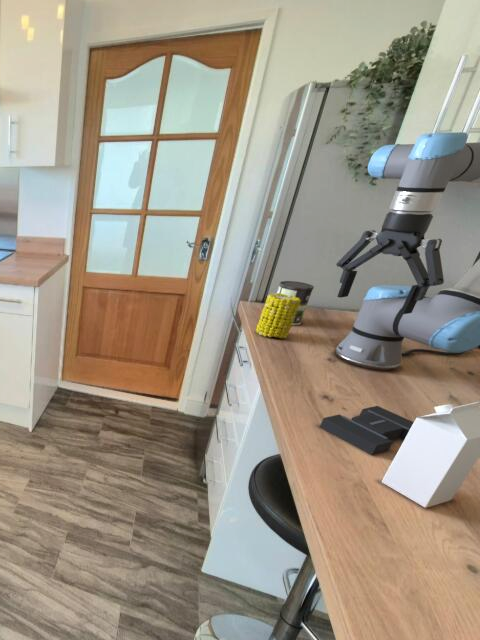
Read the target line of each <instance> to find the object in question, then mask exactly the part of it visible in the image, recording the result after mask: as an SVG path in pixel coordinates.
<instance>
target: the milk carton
mask: <svg viewBox="0 0 480 640" xmlns="http://www.w3.org/2000/svg"><path fill="white" fill-rule="evenodd" d="M479 406H480V401H475V402H470V403H467V404H463V405H457V406H453V404H451V403H450V404H442V405H437V406H434V411H435V412H433V413H430V414H425V415H421V416H417V417H416V418H415V419H414V421H413V422H414V423H413V425H412V427H411V429H410V430H409V432H408V434H407V436H406V438H405V440H403V441H402V444H401V445H400V447H399V449H398V450H397V453H396V454H395V456H394V458H393V460H392V462H391V464H390V465H389V467H388V469H387V471H386V472H385V475H384V476H383V478H382V480H381V483H382V484H384V485H385V486H387V487H389V488H391V489H392V490H394V491H395V492H398V493H399V494H401V495H402V496H404V497H406V498H407V499H409V500H411V501H413V502H414V503H416V504H417V505H419V506H421V507H422V508H425V509H426V508H430V507H434V506H437V505H441V504H443V503H446V502H450V501H452V500H453V499H454V497H455V495H456V494H457V492H458V491H459V489H460V487H462V485H463V483H464V481H465V480H466V478H467V477H468V476H469V474H470V472H471V470H472V469H473V468H474V466H475V465H476V464H477V462H478V460H479V458H480V408H479Z"/></svg>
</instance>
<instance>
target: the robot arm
mask: <svg viewBox="0 0 480 640" xmlns="http://www.w3.org/2000/svg"><path fill="white" fill-rule="evenodd" d="M468 138H469V135H468V133H467V132H463V131H462V132H461V131H458V132H432V133H431V132H430V133H429V132H428V133H422V134H421V135H420V136H419V137H418V138H417V139H416V141H415V143H407V144H403V143H402V144H401V143H396V144H386V145H383V146H381V147H379V148H378V149H376V151H374V153H373V154H372V155H371V157H370V160H369V161H368V164H367V172H368V174H369V176H371V177H372V178H378V179H383V180H384V179H385V180H386V179H387V180H390V179H391V180H400V181H399V183H398V186H397V188H396V190H395V193H394V195H393V198H392V200H391V202H390V205H389V210H390V211H388V213H386V215H385V217H384V219H383V223H382V225H381V230H380V232H377V231H376V230H374V229H372V230H371V229H370V230H365V231H364V232H363V233H362V234H361V236H360V239H359V240H358V241H357V242H356V243H355V244H354V245H353V246H352V247H351V248H350V249H349V250H348V251H347V252H346V253H345V254H344V255H343V256H342V257H341V258H340V259H339V260H338V261H337V262H336V267H339V268H341V269H342V273H341V276H340V279H339V284H341V286H340V288H339V291H338V293H337V298H346V297H348V296H349V294H350V292H351V289H352V286H353V284H354V282H355V279H356V276H357V273H358V270H356V268H359V267H360V266H362V265H363V264H365V263H366V262H368V261H370V260H372V259H373V258H375V257H376V256H378V255H379V254H382V255H392V256H393V257H402V259H403V260H404V261H405V262H406V264H407V266H408V268H409V269H410V272H411V275H412V276H413V278H414V281H415V282H416V284H413V285H410V286H409V285H398V284H397V285H396V284H395V285H394V284H393V285H392V284H390V285H389V284H388V285H387V284H385V285H384V284H382V285H381V284H380V285H375V286H372V287H370V288H369V289H368V291H367V293H366V295H365V297H364V298H363V300H362V304H361V306H360V309H359V310H358V314H357V316H356V319H355V321H354V323H353V326H352V329H351V330H350V332H349V333H348V334H347V336H346V337H344V339H343V340H342V341H341V342H340V343H338V345H337V346H336V348H335V349H334V353H333V355H334V356H335V357H336V358H337V359H338V360H340V361H342V362H344V363H346V364H348V365H351V366H355V367H358V368H362V369H366V370H373V371H379V372H393V371H397V370H399V369H400V366H401V365H402V360H403V359H402V358H403V357H405V356H409V355H410V354H412V353H419V352H420V353H429V354H435V355H441V356H442V355H444V356H459V355H460V356H461V355H463V354H465V353H467V352H469V351H472V350H474V349H475V348H478V349H480V258H479V259H478V260H477V261H475V263H474V264H473V265H472V266H471V267H470V268H469V269H468V271H467V272H466V273H465V274H464V275H463V276H462V277H461V278H460V279H459V280H458V282H457V283H456V284H455V285H454V286H452V287H447V288H444V289H440V291H439V292H438V293H437V294H436V295H435V296H434V297H429V296H426V295H427V292H428V291H429V288H430V287H437V286H441V285H443V284H444V282H445V280H444V272H443V265H442V260H441V252H440V249H441V246H442V243H443V240H442V239H441V238H432V239H430V238H429V239H427V238H425V235H426V233H427V231H428V230H429V228H430V225H431V222H432V220H433V218H434V215H433V214H432V213H434V212H436V211H437V209H438V207H439V205H440V202H441V199H442V198H443V195H444V192H445V190H446V188H447V186H448V184H449V183H465V184H472V185H473V186H475V187H477V188H480V141H479V142H467V141H468ZM375 240H376V243H377V244H376V245H374V246H373V247H371V248H370V249H368V251H366V252H365V253H363V254H361V252H363V250H364V249H365V248H367V246H368V245H370V244H371V242H373V241H375ZM421 246H422V247H423V249H424V256H425V263H426V267H425V265H424V263H423V261H422V258H421V254H420V252H419V249H418V248H420V247H421ZM360 254H361V255H360ZM357 256H358V257H357ZM404 339H407V340H409V341H410V340H411V341H414V342H416V343H419V344H422V345H426V346H428V347H431V348H432V349H427V348H426V349H425V348H414V349H413V348H412V349H409V350H407V351H406V352H403V351H402V350H403V341H404ZM433 349H435V350H433Z"/></svg>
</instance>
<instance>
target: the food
mask: <svg viewBox="0 0 480 640" xmlns="http://www.w3.org/2000/svg"><path fill="white" fill-rule="evenodd" d="M300 302H301V300H300V298H297V297H293V296H291V295H289V296H287V295H286V294H284V295H283V294H281V293H278V294H277V292H275V293H270V294H268V295H267V298H266V300H265V303H264V304H263V305H264V306H263V308H262V310H261V313H260V316H259V320H258V323H257V325H256V329H255V332H256V333H257V335H258V334H259V336H260V337H262V336H263V337H264V338H267V337H269V338H273V337H274V338H278V339H286V338H287V337H288V335H289V334H290V330H291V328H292V326H293V325H292V324H293V323H292V322H294V318H295V315H296V313H297V312H296V311H297V310H298V306H299V305H300Z"/></svg>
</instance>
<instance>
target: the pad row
mask: <svg viewBox="0 0 480 640" xmlns="http://www.w3.org/2000/svg"><path fill="white" fill-rule="evenodd" d="M370 413H373V414H375V415H377V416H380V417H382V418H384V419H386V420H388V421H390V422H392V423H395V424H397V425H399V426H401V427H403V428H404V429H403V431H402V433H401V434H400V436H399V438H398V439H401V440H403V441H404V440H405V438H406V436H407V434H408V432H409V430H410V429H411V427H412V425H413V423H414V421H412V420H410V419H408V418H405V417H403V416H401V415H399V414H397V413H394V412H392V411H390V410H388V409H386V408H384V407H381V406H378V405H375V406H370V407H365V408H362V409H361V412H360V413H359V415H358V416H361V415H365V414H370ZM351 419H352V418H349V417H347V416H345V415H342V414H334V415H330V416H327V417H323V418H322V421H321V423H320V425H319V428H321V429H322V430H325V431H326V432H328V433H330V434H332V435H333V436H336V437H337V438H339V439H341V440H342V441H343V440H344V441H345V442H347V443H349V444H350V445H352V446H354V447H356V448H358V449H360V450H361V451H364V452H366V454H369V455H370V456H374V455H377V454H381V453H385V452H389V450H390V448H391V446H392V444H393V443H394V440H390V439H388V438H387V437H385V436H383V435H381V434H379V433H377V432H375V431H373V430H371V429H369V428H367V427H365V426H363V425H361V424H359V423H357V422H355V421H353V420H351Z"/></svg>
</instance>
